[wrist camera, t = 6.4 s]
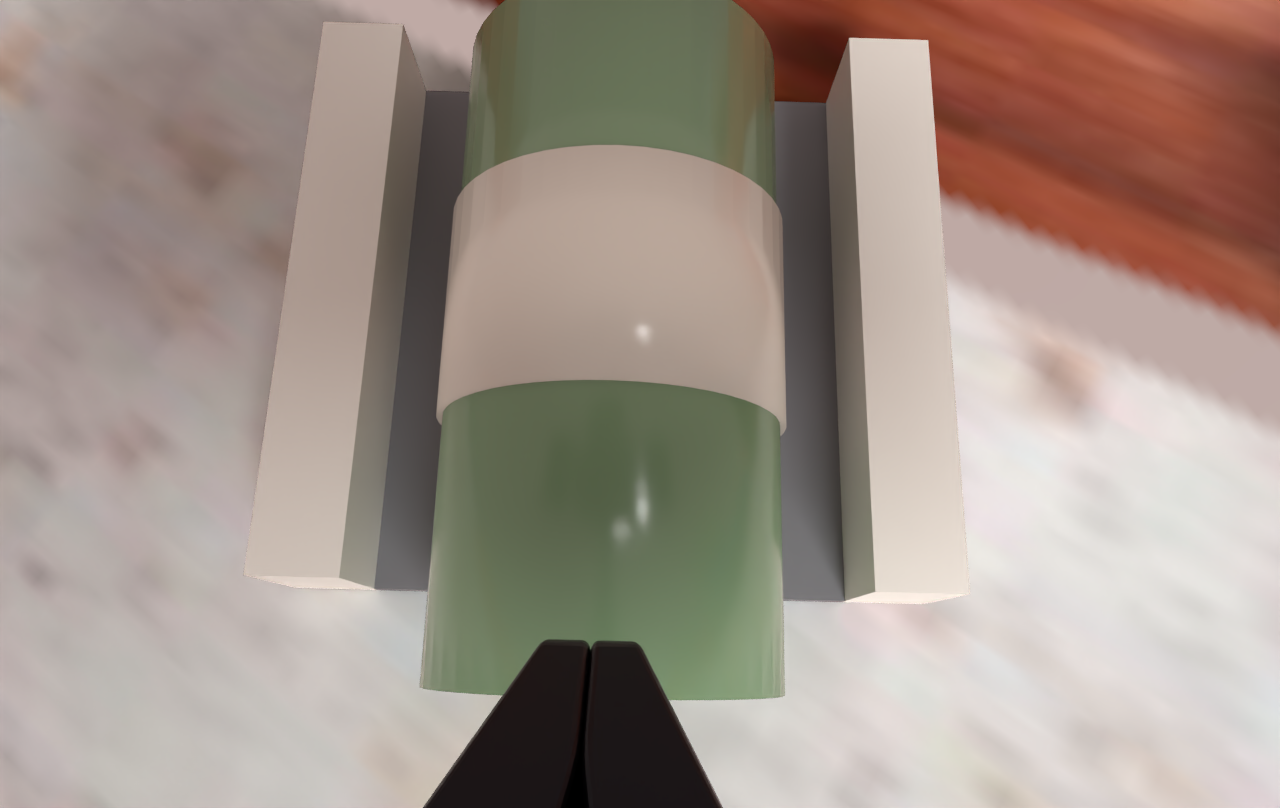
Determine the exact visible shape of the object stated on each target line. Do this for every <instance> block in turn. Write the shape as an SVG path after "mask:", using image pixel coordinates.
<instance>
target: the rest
mask: <svg viewBox="0 0 1280 808" xmlns="http://www.w3.org/2000/svg"><path fill="white" fill-rule="evenodd" d="M469 94H470V92H449V91H426V89H425V86H424V83H423V80H422V77H421V74H420V71H419V69H418V66H417V63H416V60H415V57H414V54H413V51H412V48H411V45H410V43H409V40H408V37H407V34H406V31H405V28H404V25H403V24H386V23H353V22H323V28H322V35H321V42H320V49H319V56H318V63H317V69H316V76H315V83H314V90H313V97H312V104H311V111H310V118H309V125H308V132H307V138H306V145H305V152H304V159H303V166H302V173H301V180H300V187H299V194H298V201H297V207H296V214H295V221H294V228H293V235H292V242H291V249H290V256H289V263H288V270H287V277H286V283H285V290H284V297H283V304H282V311H281V318H280V325H279V332H278V339H277V346H276V352H275V359H274V366H273V373H272V380H271V387H270V394H269V401H268V408H267V415H266V421H265V428H264V435H263V442H262V449H261V456H260V463H259V470H258V477H257V484H256V491H255V497H254V504H253V511H252V518H251V525H250V532H249V539H248V546H247V553H246V560H245V566H244V573H243V575H244V576H248V577H252V578H257V579H261V580H265V581H269V582H273V583H277V584H282V585H286V586H290V587H294V588H321V589H359V590H398V591H428V581H429V570H430V558H431V546H432V534H433V522H434V510H435V498H436V486H437V475H438V463H439V451H440V439H441V427H442V425H441V424H440V423H439V422H438V420H437V418H436V410H437V399H438V387H439V375H440V364H441V352H442V340H443V329H444V317H445V306H446V294H447V282H448V271H449V259H450V247H451V236H452V224H453V213H454V206H455V203H456V200H457V197H458V196H459V195H460V193H461V189H462V177H463V165H464V154H465V142H466V130H467V118H468V106H469ZM775 149H776V205H777V206H778V208H779V210H780V213H781V216H782V225H783V274H784V326H785V379H786V430H785V432H784V433H783V434H782V435H781V436H780V439H781V498H782V556H783V601H822V602H860V603H899V604H926V603H931V602H936V601H941V600H945V599H950V598H955V597H959V596H964V595H969V594H970V585H969V571H968V558H967V545H966V532H965V519H964V506H963V493H962V480H961V466H960V453H959V440H958V427H957V414H956V401H955V388H954V374H953V361H952V348H951V335H950V322H949V309H948V296H947V283H946V269H945V256H944V244H943V231H942V217H941V204H940V191H939V177H938V164H937V151H936V138H935V125H934V112H933V99H932V86H931V72H930V59H929V46H928V40H904V39H872V38H849V40H848V42H847V45H846V48H845V51H844V54H843V56H842V59H841V62H840V65H839V68H838V71H837V73H836V76H835V79H834V82H833V85H832V87H831V90H830V93H829V96H828V99H827V101H826V103H812V102H779V101H775Z"/></svg>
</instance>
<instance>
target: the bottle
mask: <svg viewBox="0 0 1280 808" xmlns="http://www.w3.org/2000/svg"><path fill="white" fill-rule="evenodd" d="M436 418H437V420H438V422H439V423H440V424H441V425H442V427H441V439H440V451H439V463H438V475H437V486H436V498H435V510H434V522H433V534H432V546H431V558H430V570H429V581H428V593H427V605H426V617H425V629H424V641H423V653H422V665H421V677H420V688H423V689H429V690H436V691H446V692H457V693H471V694H487V695H503V694H504V693H505V691H506V690H507V689H508V687H509V686H510V684H511V683H512V682H513V680H514V679H515V677H516V676H517V675H518V673H519V672H520V670H521V669H522V667H523V666H524V665H525V663H526V662H527V660H528V659H529V658H530V656H531V655H532V653H533V652H534V651H535V649H536V648H537V647H538V645H539V644H540V643H541V642H543V641H545V640H547V639H562V640H584V641H586V642H587V643H588V644H589V646H590V650H591V647H592V645H593V643H595V642H596V641H600V640H603V641H634V642H636V643H638V644H639V645H640V646H641V647H642V649H643V650H644V652H645V654H646V656H647V658H648V660H649V662H650V664H651V666H652V668H653V670H654V672H655V674H656V676H657V678H658V680H659V682H660V684H661V686H662V688H663V690H664V692H665V694H666V696H667V698H668V700H740V699H765V698H777V697H783V696H785V672H784V614H783V556H782V498H781V439H780V436H781V435H782V434H783V433H784V432H785V430H786V379H785V326H784V274H783V225H782V216H781V213H780V210H779V208H778V206H777V205H776V149H775V91H774V57H773V54H772V50H771V46H770V44H769V42H768V40H767V37H766V35H765V33H764V32H763V30H762V29H761V28H760V26H759V25H758V24H757V22H756V21H755V20H754V19H753V18H752V17H751V16H750V15H749V14H748V13H747V12H746V11H745V10H744V9H743V8H741V7H740V6H739V5H737V4H736V3H735V2H733V1H732V0H505V1H504V2H502V3H501V4H500V5H499V6H498V7H497V8H495V9H494V10H493V11H492V13H491V14H490V15H489V16H488V17H487V19H486V20H485V21H484V22H483V24H482V26H481V28H480V30H479V32H478V34H477V36H476V40H475V43H474V47H473V58H472V70H471V82H470V94H469V106H468V118H467V130H466V142H465V154H464V165H463V177H462V189H461V193H460V195H459V196H458V197H457V200H456V203H455V206H454V213H453V224H452V236H451V247H450V259H449V271H448V282H447V294H446V306H445V317H444V329H443V340H442V352H441V364H440V375H439V387H438V399H437V410H436Z"/></svg>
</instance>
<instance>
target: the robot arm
mask: <svg viewBox="0 0 1280 808" xmlns="http://www.w3.org/2000/svg"><path fill="white" fill-rule="evenodd" d="M423 808H723V807H722V805H721V803H720V801H719V799H718V797H717V795H716V793H715V791H714V789H713V787H712V785H711V783H710V781H709V779H708V777H707V775H706V773H705V771H704V769H703V767H702V765H701V763H700V761H699V759H698V757H697V755H696V753H695V751H694V749H693V747H692V745H691V743H690V741H689V739H688V737H687V735H686V733H685V732H684V730H683V728H682V726H681V724H680V722H679V720H678V718H677V716H676V714H675V712H674V710H673V708H672V706H671V704H670V702H669V700H668V698H667V696H666V694H665V692H664V690H663V688H662V686H661V684H660V682H659V680H658V678H657V676H656V674H655V672H654V670H653V668H652V666H651V664H650V662H649V660H648V658H647V656H646V654H645V652H644V650H643V649H642V647H641V646H640V645H639V644H638V643H636V642H634V641H603V640H600V641H596V642H595V643H593V645H592V647H591V650H590V646H589V644H588V643H587V642H586V641H584V640H562V639H547V640H545V641H543V642H541V643H540V644H539V645H538V647H537V648H536V649H535V651H534V652H533V653H532V655H531V656H530V658H529V659H528V660H527V662H526V663H525V665H524V666H523V667H522V669H521V670H520V672H519V673H518V675H517V676H516V677H515V679H514V680H513V682H512V683H511V684H510V686H509V687H508V689H507V690H506V691H505V693H504V694H503V696H502V697H501V698H500V700H499V701H498V703H497V704H496V705H495V707H494V708H493V710H492V711H491V713H490V714H489V715H488V717H487V718H486V720H485V721H484V722H483V724H482V725H481V727H480V728H479V729H478V731H477V732H476V734H475V735H474V736H473V738H472V739H471V741H470V742H469V743H468V745H467V746H466V748H465V749H464V750H463V752H462V753H461V755H460V756H459V758H458V759H457V760H456V762H455V763H454V765H453V766H452V767H451V769H450V770H449V772H448V773H447V774H446V776H445V777H444V779H443V780H442V781H441V783H440V784H439V786H438V787H437V788H436V790H435V791H434V793H433V794H432V796H431V797H430V798H429V800H428V801H427V803H426V804H425V805H424V807H423Z"/></svg>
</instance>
